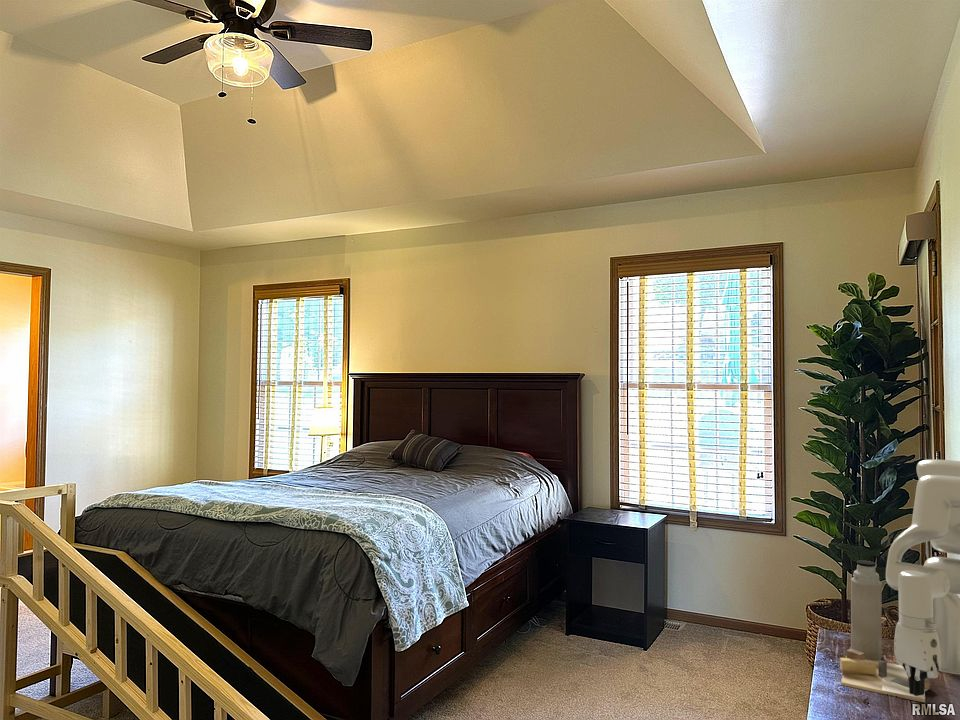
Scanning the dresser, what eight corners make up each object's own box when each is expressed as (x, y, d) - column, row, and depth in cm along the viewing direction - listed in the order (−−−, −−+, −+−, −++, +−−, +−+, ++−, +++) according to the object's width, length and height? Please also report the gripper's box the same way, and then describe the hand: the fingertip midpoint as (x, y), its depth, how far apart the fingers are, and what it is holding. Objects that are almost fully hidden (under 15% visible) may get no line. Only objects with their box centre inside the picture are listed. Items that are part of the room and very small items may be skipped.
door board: (846, 659, 205) (845, 642, 205) (928, 675, 194) (927, 656, 194) (841, 686, 187) (840, 667, 187) (931, 705, 176) (931, 685, 176)
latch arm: (873, 671, 192) (873, 660, 193) (876, 674, 190) (876, 663, 190) (839, 668, 194) (839, 657, 194) (842, 671, 192) (842, 660, 192)
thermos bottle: (874, 651, 211) (874, 558, 211) (886, 662, 203) (886, 565, 203) (846, 649, 212) (846, 557, 212) (857, 660, 204) (857, 564, 204)
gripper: (954, 629, 172) (956, 704, 172) (900, 610, 186) (901, 680, 186) (932, 633, 170) (933, 709, 169) (879, 613, 184) (880, 684, 183)
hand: (916, 693), depth 177 cm, fingers closed
